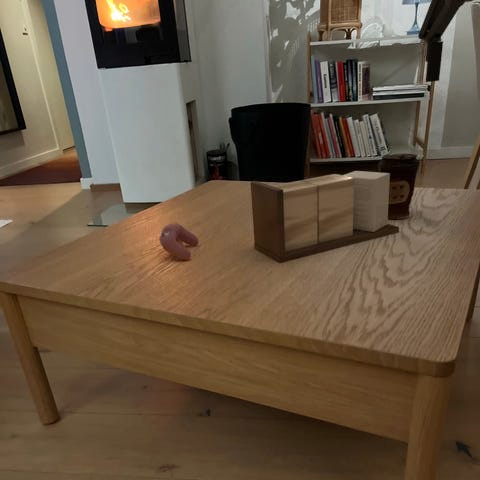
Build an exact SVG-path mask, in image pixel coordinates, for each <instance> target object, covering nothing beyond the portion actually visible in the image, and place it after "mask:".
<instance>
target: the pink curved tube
mask: <svg viewBox="0 0 480 480" xmlns="http://www.w3.org/2000/svg"><path fill="white" fill-rule="evenodd" d="M158 238H159V243H160V245H161V247H162V248H163V249H164V251H165V252H167V253H169V254H171V255H172V256H174V257H175V258H177V259H178V260H179V259H180V260H183V261H189V260H190V259H191V257H192V254H191V251H190V250H189V249H188V248H187V247H185V245H184V244H186V245H188V246H194V247H197V246H198V245H199V238H198V237H197V236H196V234H194V233H192V232H191V231H190V230H187V229H186V228H185V227H184V226H183V225H181V224H179V223H178V221H177V222H175V223H169V224H167V225H166V226H164V227H163V228H162V230H161V235H160V236H159V237H158Z"/></svg>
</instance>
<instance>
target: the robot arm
mask: <svg viewBox="0 0 480 480" xmlns="http://www.w3.org/2000/svg"><path fill="white" fill-rule="evenodd" d="M473 1H474V0H431V1H430V4H429V7H428V8H427V11H426V14H425V16H424V20H423V22H422V25H421V27H420V29H419V32H418V36H417V37H418V39H419V40H423V41H425V43H426V49H425V62H426V71H425V83H432V82H433V83H434V82H439V81H440V76H441V69H442V68H441V66H442V57H443V47H444V41H443V39H442V36H443V35H444V33H445V31H446V30H447V29H448V27H449V25H450V24H451V22H452V20H453V19H454V17H456V14H457V12H458V11H459V9H460V8H461V7H462V6H464V4H465V3H469V2H473Z"/></svg>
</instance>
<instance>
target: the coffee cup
mask: <svg viewBox="0 0 480 480" xmlns="http://www.w3.org/2000/svg"><path fill="white" fill-rule="evenodd" d="M417 157H418V154H415V153H394V154H393V153H392V154H385V155H382V157H381V160H380V161H379V162H378V166H377V167H378V169H377V170H378V173H390V180H389V202H388V219H393V220H394V219H395V220H397V219H398V220H399V219H407V218H409V217H411V216H410V215H411V213H410V205H411V203H412V198H413V196H414V194H415V193H414V192H415V187H416V179H417V173H418V171H419V168H420V164H421V162H420V160H419V159H417Z"/></svg>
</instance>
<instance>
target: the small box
mask: <svg viewBox="0 0 480 480" xmlns="http://www.w3.org/2000/svg"><path fill="white" fill-rule="evenodd" d="M341 175H342V174H341ZM342 176H347V177H351V178H354V205H353V229H357V230H363V231H369V232H375V231H377V230H378V229H380V228H382V227H384V226H386V225H387V223H388V219H389V218H388V202H389V180H390V173H379V171H378V172H376V171H363V170H354V171H351V172H348V173H345V174H343V175H342Z"/></svg>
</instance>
